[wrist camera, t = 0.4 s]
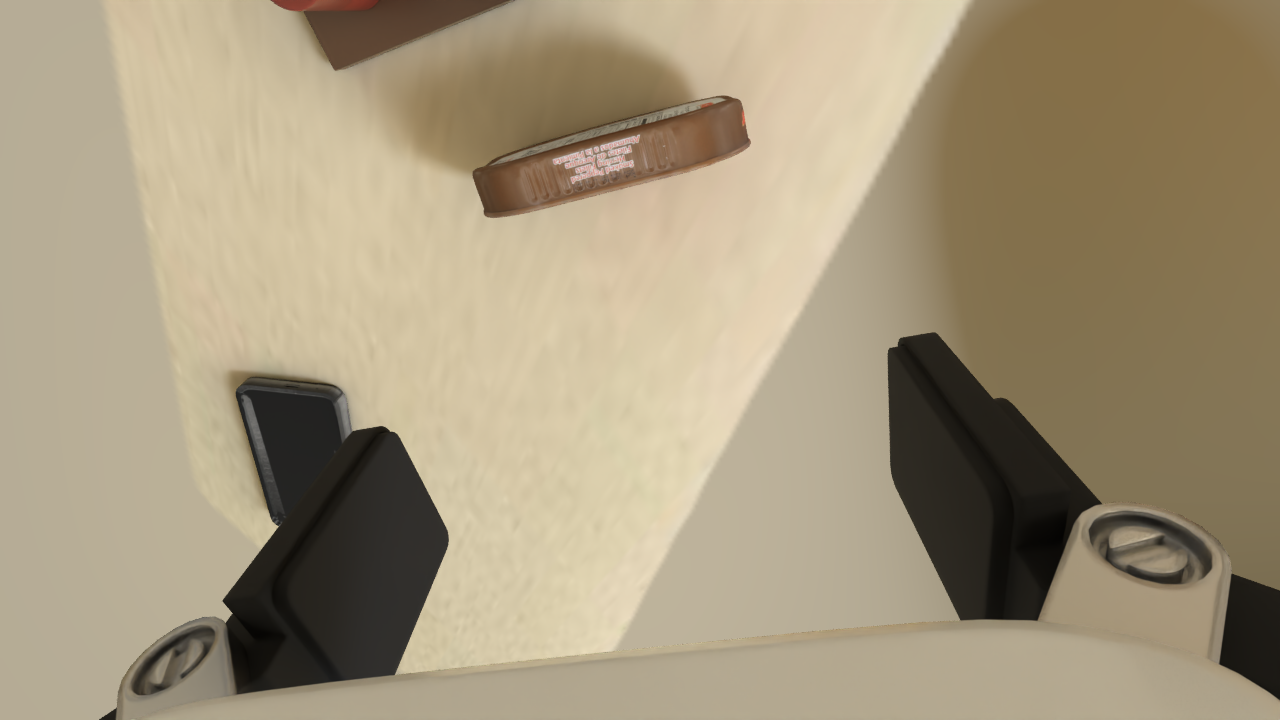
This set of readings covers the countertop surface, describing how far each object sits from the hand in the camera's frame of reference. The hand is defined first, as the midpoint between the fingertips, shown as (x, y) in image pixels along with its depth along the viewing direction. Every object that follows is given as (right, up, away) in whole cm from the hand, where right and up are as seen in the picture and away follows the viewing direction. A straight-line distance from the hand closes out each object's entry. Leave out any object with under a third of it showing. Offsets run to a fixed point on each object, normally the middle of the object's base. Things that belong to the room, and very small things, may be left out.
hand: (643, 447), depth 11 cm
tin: (-2, +15, +25) cm, 29 cm away
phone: (-27, -6, +38) cm, 47 cm away
